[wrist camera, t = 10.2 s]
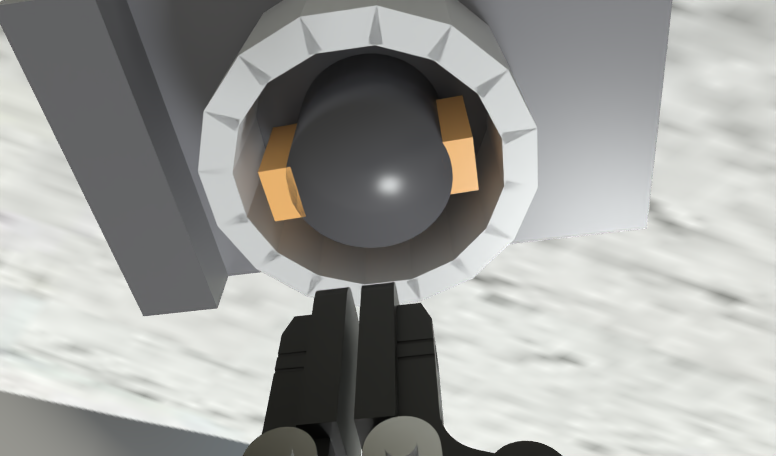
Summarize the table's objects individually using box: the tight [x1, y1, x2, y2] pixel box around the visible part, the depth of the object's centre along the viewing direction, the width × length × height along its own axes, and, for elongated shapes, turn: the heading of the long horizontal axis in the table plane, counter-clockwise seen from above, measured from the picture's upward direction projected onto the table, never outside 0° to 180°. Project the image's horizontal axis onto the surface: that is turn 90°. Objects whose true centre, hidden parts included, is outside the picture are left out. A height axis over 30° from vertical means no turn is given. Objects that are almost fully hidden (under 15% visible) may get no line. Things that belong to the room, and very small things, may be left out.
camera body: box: [0, 0, 672, 316], centre depth 23 cm, size 20×12×11 cm, turn 98°
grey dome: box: [258, 54, 479, 248], centre depth 20 cm, size 6×5×4 cm
